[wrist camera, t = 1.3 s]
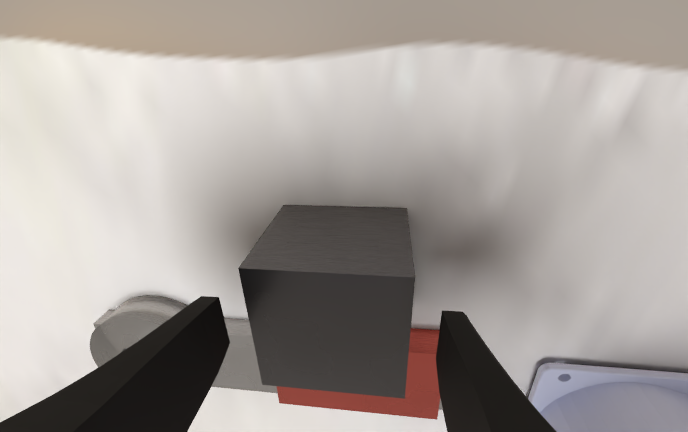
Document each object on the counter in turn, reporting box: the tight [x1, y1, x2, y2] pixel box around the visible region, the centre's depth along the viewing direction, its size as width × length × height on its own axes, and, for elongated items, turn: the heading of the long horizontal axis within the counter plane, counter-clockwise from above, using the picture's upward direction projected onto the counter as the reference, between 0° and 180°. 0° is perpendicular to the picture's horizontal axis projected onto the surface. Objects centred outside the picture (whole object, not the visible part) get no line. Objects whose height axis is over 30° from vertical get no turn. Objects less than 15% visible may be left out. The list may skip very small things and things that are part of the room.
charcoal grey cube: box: [239, 205, 415, 399], centre depth 12 cm, size 5×5×4 cm
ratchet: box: [90, 295, 443, 419], centre depth 16 cm, size 18×6×4 cm, turn 92°
